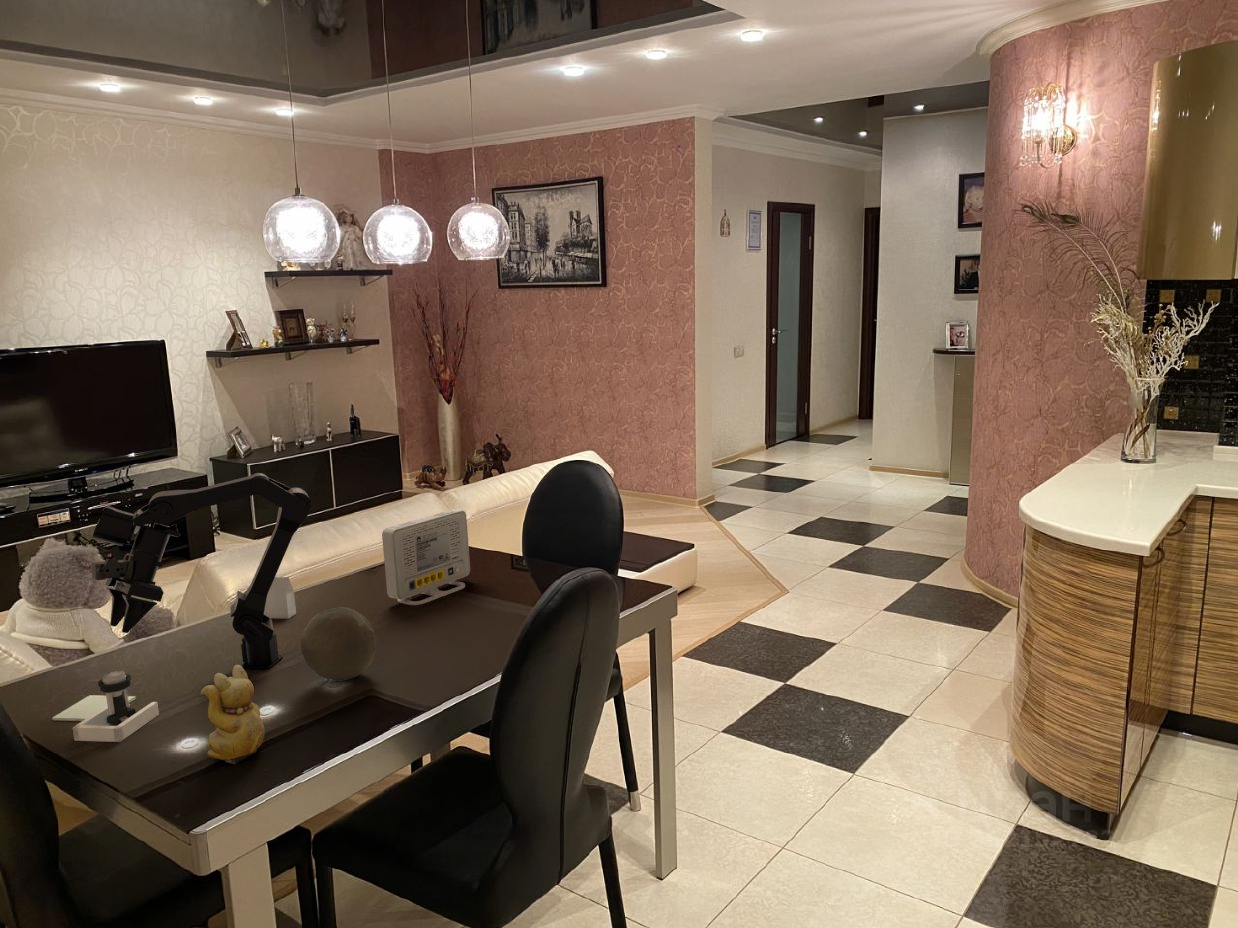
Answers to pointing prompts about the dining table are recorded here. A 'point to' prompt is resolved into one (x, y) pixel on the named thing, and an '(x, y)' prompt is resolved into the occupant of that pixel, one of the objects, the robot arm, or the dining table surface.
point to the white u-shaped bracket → (96, 732)
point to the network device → (426, 556)
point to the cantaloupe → (338, 643)
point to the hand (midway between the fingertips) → (118, 629)
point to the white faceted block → (280, 599)
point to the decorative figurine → (233, 717)
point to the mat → (85, 708)
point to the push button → (116, 697)
